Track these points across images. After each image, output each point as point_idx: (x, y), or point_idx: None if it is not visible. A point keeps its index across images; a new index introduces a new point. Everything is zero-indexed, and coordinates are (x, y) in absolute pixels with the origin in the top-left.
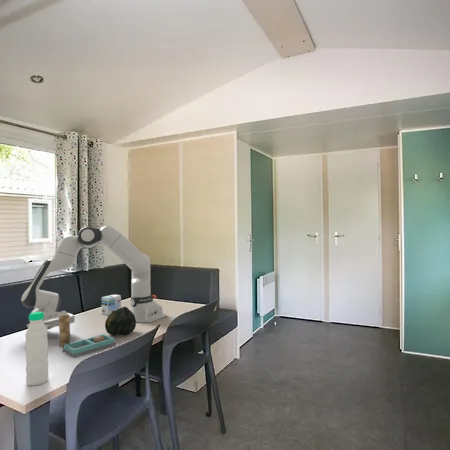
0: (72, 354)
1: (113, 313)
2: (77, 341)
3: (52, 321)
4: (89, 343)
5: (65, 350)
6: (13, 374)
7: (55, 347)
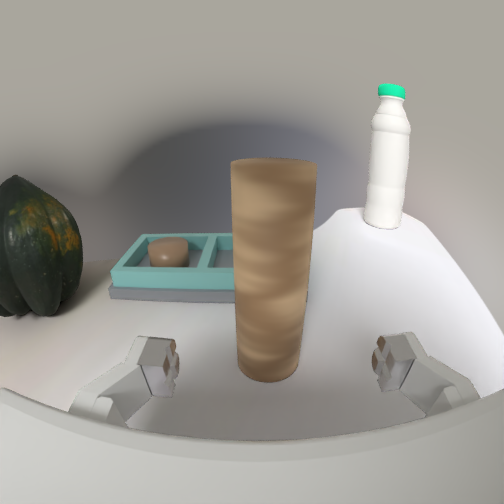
0: None
1: (37, 199)
2: None
3: (336, 439)
4: (213, 252)
5: None
6: (437, 257)
7: (322, 360)
